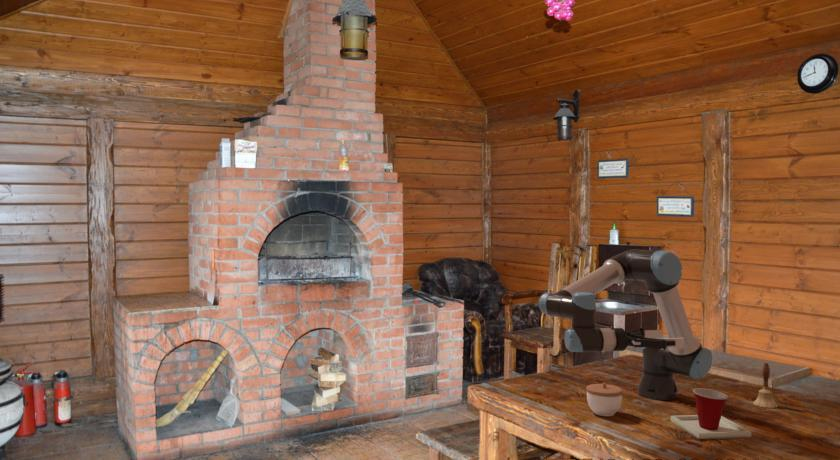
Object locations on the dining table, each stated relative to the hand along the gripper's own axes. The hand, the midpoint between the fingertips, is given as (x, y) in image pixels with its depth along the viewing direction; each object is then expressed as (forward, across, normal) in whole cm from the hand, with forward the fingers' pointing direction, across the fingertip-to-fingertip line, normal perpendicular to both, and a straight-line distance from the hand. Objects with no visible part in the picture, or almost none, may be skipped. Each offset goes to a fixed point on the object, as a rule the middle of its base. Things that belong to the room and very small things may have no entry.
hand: (672, 338), depth 213 cm
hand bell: (+49, -22, -32) cm, 63 cm away
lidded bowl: (-17, -17, -31) cm, 39 cm away
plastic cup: (+12, +2, -30) cm, 33 cm away
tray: (+12, +2, -31) cm, 33 cm away
